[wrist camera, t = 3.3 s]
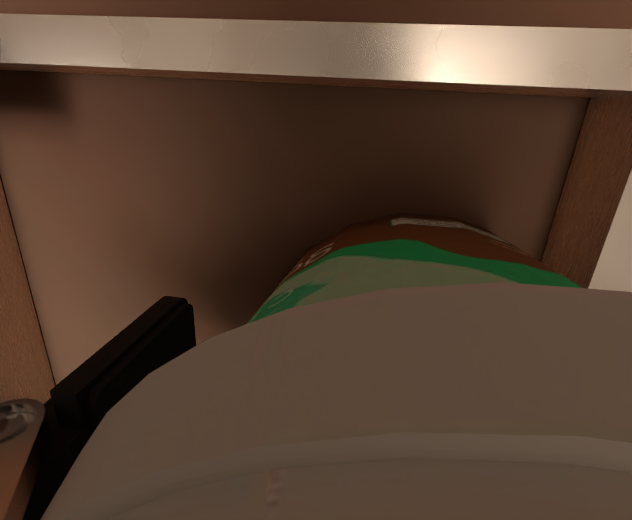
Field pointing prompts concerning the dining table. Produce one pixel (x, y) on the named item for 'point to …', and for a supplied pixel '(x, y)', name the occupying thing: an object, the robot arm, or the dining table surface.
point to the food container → (383, 395)
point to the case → (360, 71)
